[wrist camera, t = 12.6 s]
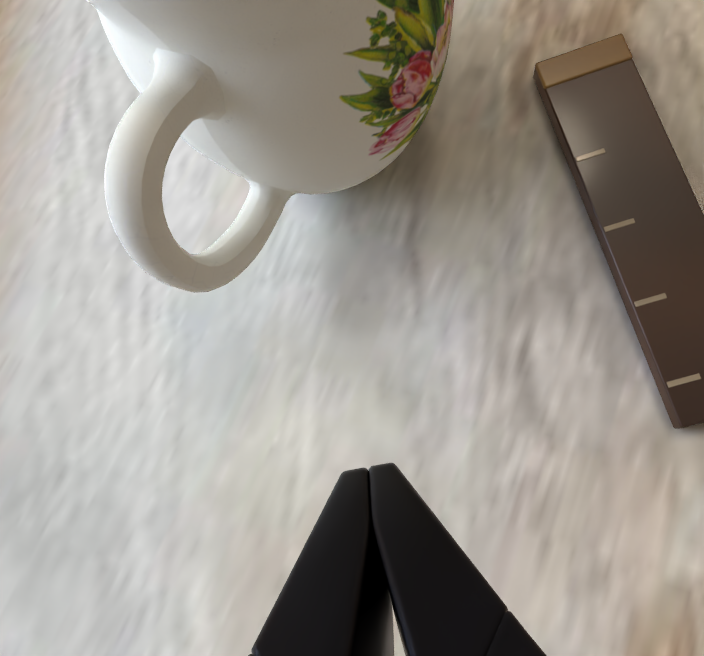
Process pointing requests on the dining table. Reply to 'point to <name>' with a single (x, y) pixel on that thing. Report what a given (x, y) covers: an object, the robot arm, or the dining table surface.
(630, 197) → the ruler
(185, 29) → the pitcher
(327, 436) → the dining table surface
